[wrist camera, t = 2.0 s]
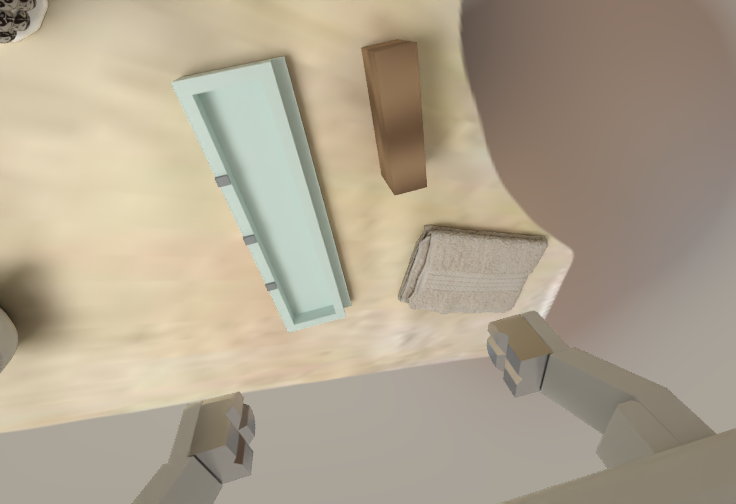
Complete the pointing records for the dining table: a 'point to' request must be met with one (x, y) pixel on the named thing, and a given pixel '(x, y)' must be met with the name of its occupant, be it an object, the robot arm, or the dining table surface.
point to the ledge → (269, 184)
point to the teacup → (7, 339)
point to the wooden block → (397, 113)
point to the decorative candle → (20, 18)
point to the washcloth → (469, 270)
